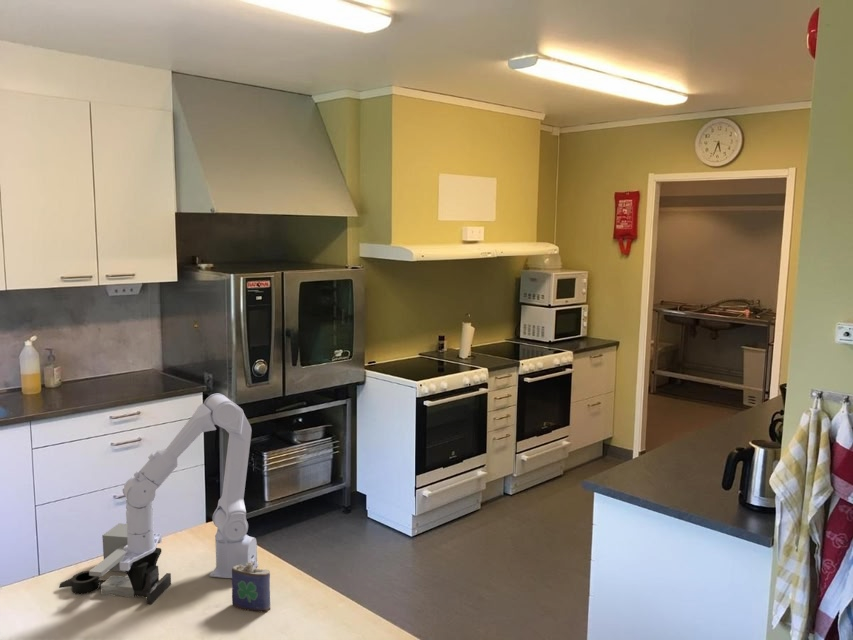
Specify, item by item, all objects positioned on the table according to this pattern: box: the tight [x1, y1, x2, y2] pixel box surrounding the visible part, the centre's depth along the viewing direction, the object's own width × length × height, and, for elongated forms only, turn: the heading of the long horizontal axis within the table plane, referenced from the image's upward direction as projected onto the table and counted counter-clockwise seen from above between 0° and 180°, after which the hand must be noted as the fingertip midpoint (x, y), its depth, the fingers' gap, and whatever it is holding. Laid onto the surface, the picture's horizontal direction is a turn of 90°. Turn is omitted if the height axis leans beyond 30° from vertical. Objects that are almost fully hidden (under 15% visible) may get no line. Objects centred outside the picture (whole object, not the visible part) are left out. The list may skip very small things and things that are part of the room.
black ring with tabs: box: [58, 570, 107, 595], centre depth 161 cm, size 8×10×3 cm
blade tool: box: [100, 565, 172, 606], centre depth 159 cm, size 14×9×6 cm, turn 82°
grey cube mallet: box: [88, 523, 128, 577], centre depth 165 cm, size 8×20×9 cm, turn 172°
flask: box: [231, 561, 271, 613], centre depth 153 cm, size 9×3×11 cm, turn 74°
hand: (143, 585), depth 159 cm, fingers closed on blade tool, 3 cm apart
